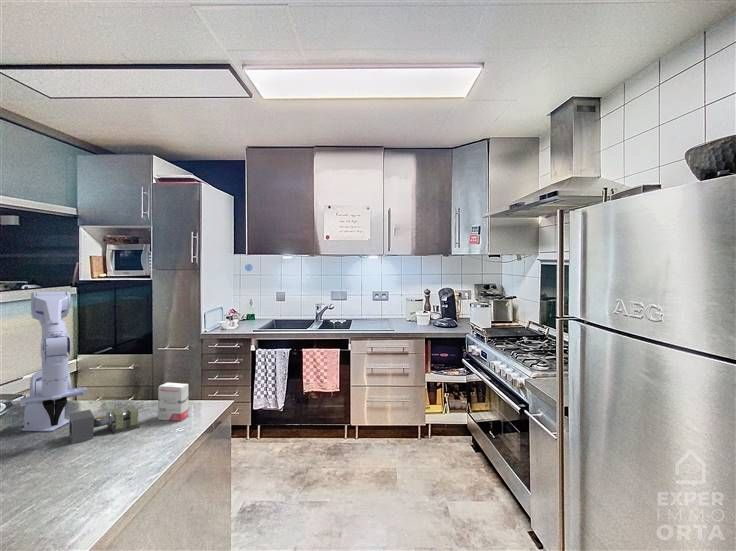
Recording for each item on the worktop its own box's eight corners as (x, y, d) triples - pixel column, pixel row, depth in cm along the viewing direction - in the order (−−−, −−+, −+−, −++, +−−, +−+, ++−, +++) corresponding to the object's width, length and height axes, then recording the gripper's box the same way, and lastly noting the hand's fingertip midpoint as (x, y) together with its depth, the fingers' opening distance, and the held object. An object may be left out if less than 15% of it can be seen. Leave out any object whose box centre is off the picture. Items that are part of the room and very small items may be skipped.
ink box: (189, 416, 128) (190, 383, 127) (180, 421, 123) (181, 387, 122) (166, 414, 128) (167, 381, 128) (156, 419, 124) (157, 385, 123)
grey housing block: (72, 443, 105) (72, 420, 105) (68, 435, 110) (69, 413, 110) (93, 438, 109) (93, 416, 109) (89, 430, 114) (89, 409, 114)
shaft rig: (90, 440, 108) (90, 420, 108) (85, 431, 113) (86, 412, 113) (140, 427, 117) (140, 409, 117) (133, 419, 123) (134, 402, 123)
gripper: (21, 387, 97) (20, 436, 97) (88, 376, 107) (87, 421, 107) (20, 380, 102) (19, 428, 102) (84, 371, 112) (83, 414, 112)
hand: (54, 424), depth 105 cm, fingers closed
